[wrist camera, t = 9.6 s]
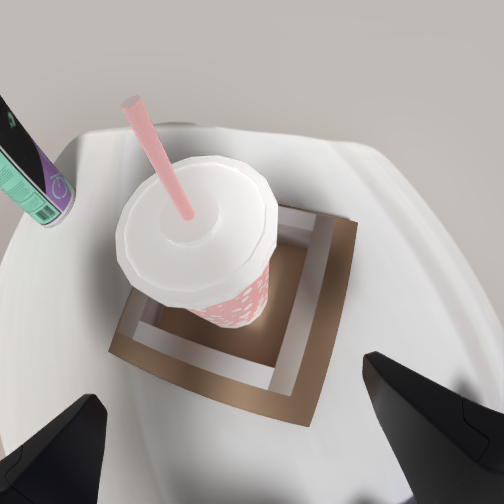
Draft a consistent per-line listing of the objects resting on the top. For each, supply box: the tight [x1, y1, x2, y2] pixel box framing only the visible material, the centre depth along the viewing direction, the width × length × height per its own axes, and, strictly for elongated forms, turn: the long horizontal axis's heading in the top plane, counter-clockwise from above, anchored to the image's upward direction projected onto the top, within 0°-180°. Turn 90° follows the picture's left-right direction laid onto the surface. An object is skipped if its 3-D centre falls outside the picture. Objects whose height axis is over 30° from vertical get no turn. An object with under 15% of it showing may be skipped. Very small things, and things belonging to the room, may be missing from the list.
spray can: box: [0, 95, 75, 228], centre depth 15 cm, size 6×6×20 cm
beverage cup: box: [115, 96, 278, 328], centre depth 11 cm, size 6×6×14 cm
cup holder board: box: [108, 204, 358, 427], centre depth 17 cm, size 14×14×4 cm
